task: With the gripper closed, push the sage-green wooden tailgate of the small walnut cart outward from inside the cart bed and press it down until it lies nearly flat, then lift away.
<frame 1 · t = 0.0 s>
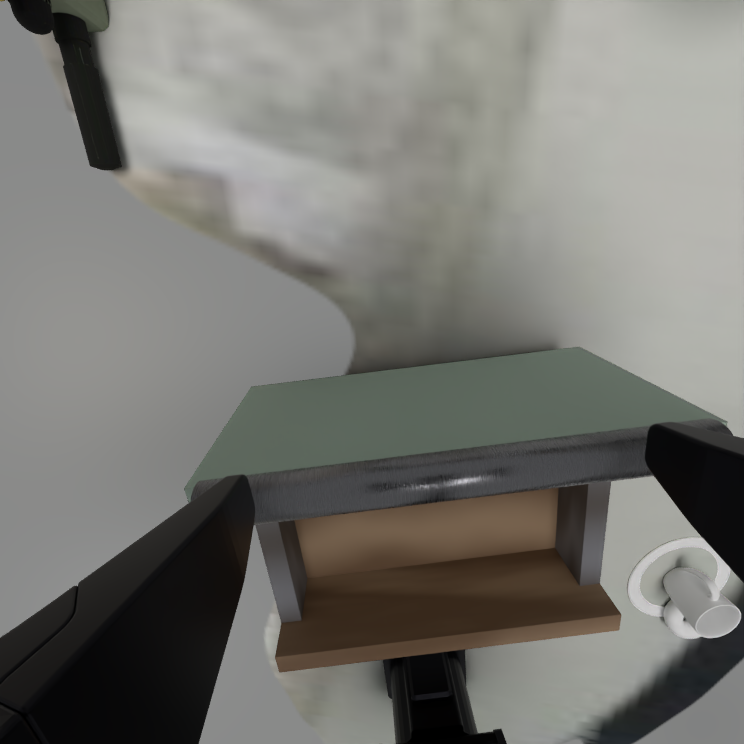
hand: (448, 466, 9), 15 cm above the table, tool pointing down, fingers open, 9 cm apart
teacup and saucer: (639, 593, 32), on the table
tailgate: (434, 417, 17), point 7 cm above the table, hinge at 0.0°
cart bed: (420, 474, 26), on the table
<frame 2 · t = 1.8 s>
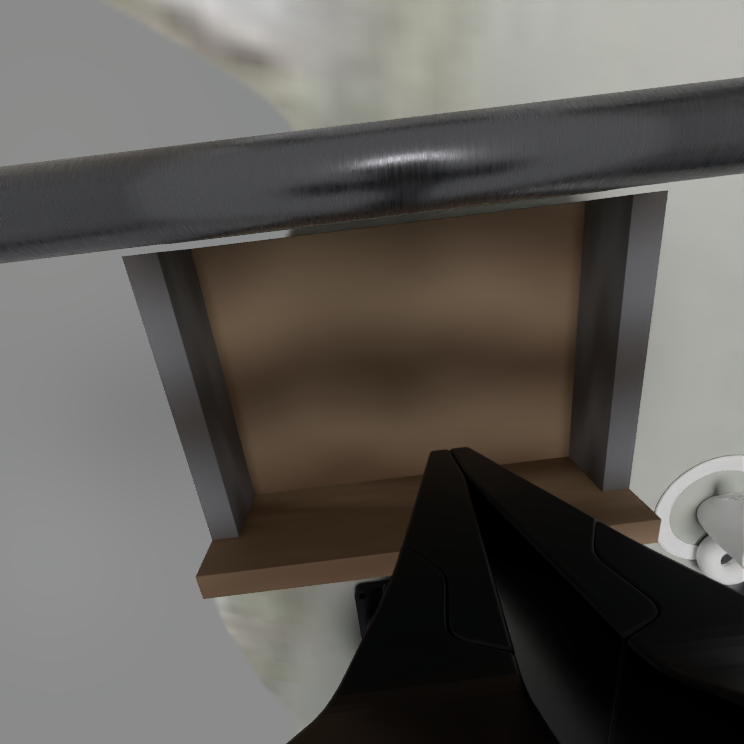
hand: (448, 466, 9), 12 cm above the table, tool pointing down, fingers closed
teacup and saucer: (666, 532, 26), on the table
tailgate: (399, 189, 11), point 7 cm above the table, hinge at 0.0°
cart bed: (398, 363, 21), on the table
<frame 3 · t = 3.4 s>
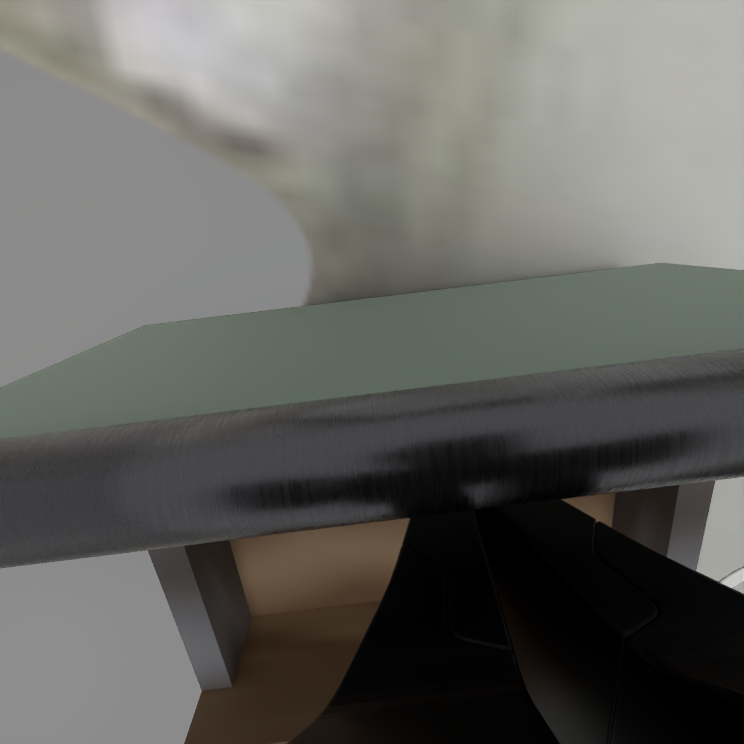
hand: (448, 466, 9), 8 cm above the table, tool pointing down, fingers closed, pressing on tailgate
tailgate: (431, 350, 9), point 7 cm above the table, hinge at 0.0°, touching gripper
cart bed: (413, 467, 18), on the table
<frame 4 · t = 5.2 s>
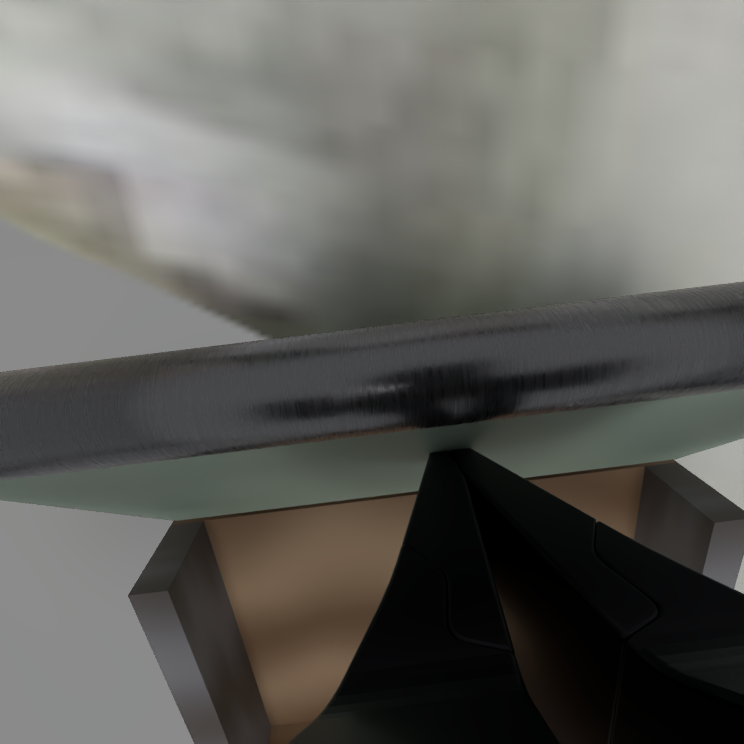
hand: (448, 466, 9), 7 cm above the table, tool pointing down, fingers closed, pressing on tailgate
tailgate: (437, 438, 10), point 6 cm above the table, hinge at 44.5°, touching gripper
cart bed: (426, 583, 19), on the table
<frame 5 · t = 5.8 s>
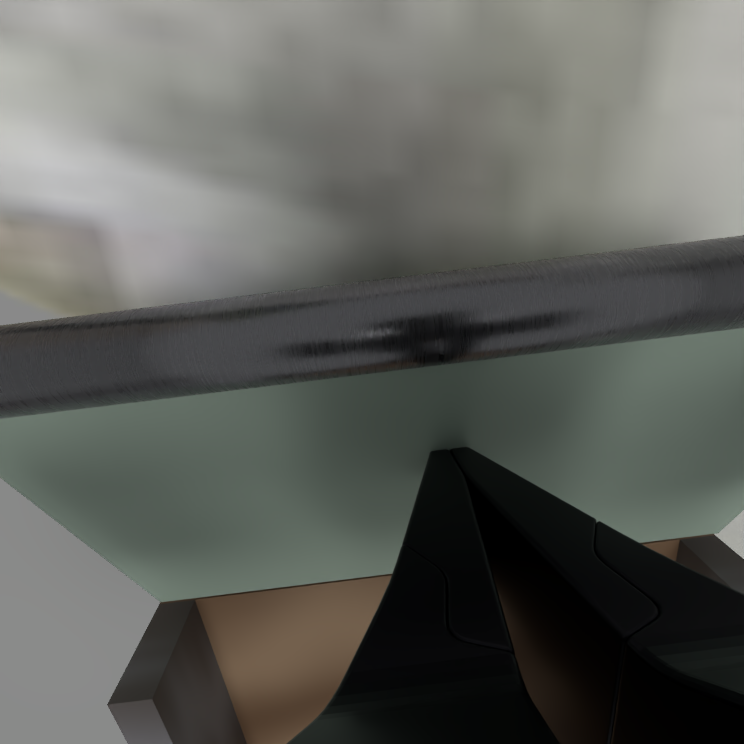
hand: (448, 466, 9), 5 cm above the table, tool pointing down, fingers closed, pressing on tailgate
tailgate: (440, 460, 10), point 4 cm above the table, hinge at 68.0°, touching gripper
cart bed: (437, 649, 17), on the table
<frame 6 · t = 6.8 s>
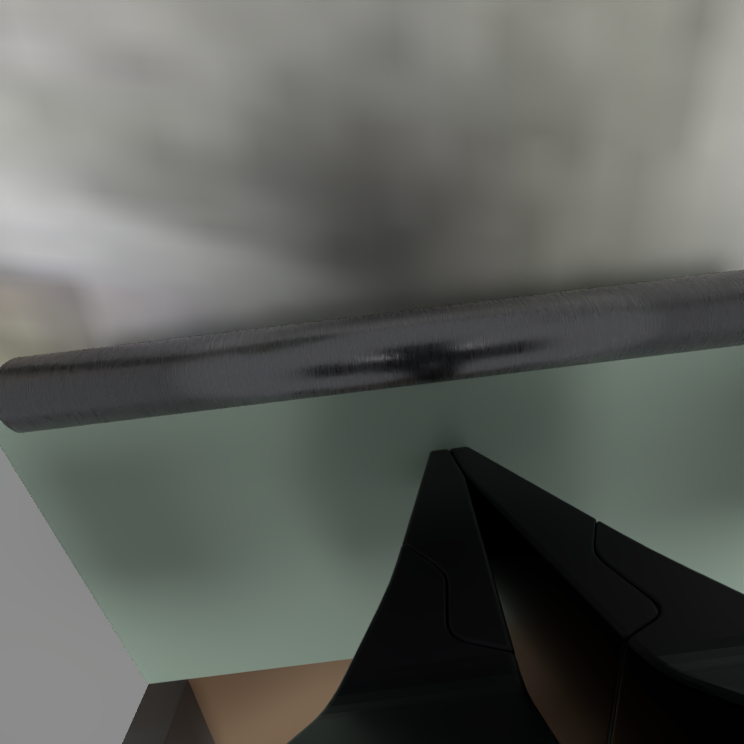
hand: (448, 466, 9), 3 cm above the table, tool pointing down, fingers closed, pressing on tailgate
tailgate: (444, 500, 10), point 2 cm above the table, hinge at 85.7°, touching gripper
cart bed: (446, 708, 17), on the table
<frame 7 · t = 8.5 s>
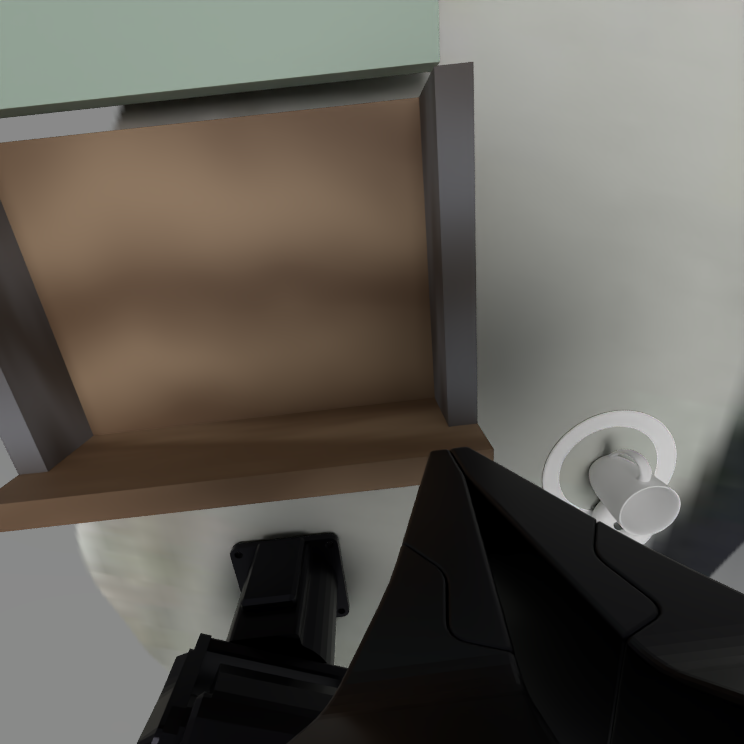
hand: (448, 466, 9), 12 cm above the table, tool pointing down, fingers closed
teacup and saucer: (561, 495, 25), on the table
cart bed: (250, 294, 19), on the table
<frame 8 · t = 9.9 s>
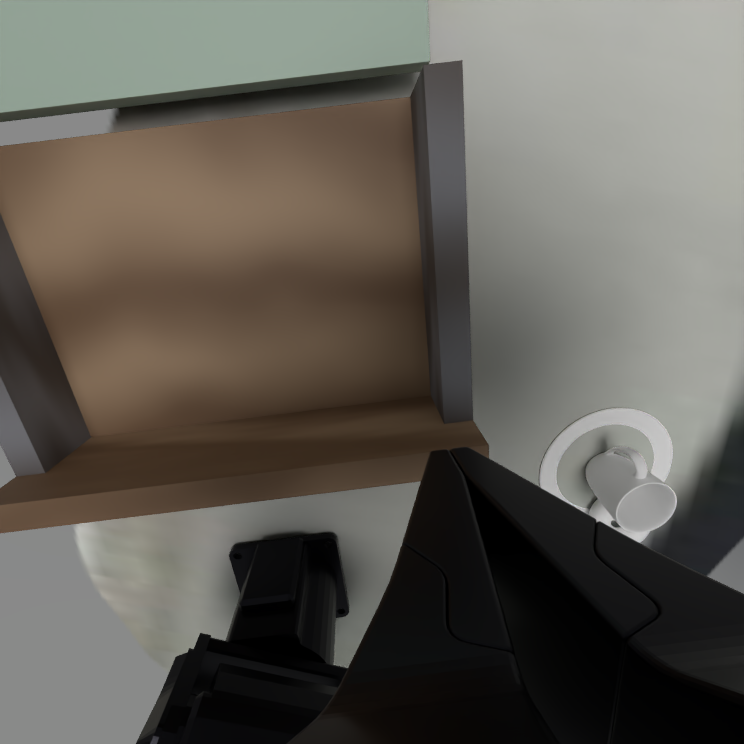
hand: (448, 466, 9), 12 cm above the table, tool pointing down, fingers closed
teacup and saucer: (559, 494, 25), on the table
cart bed: (246, 294, 19), on the table
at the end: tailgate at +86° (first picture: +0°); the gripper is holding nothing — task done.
